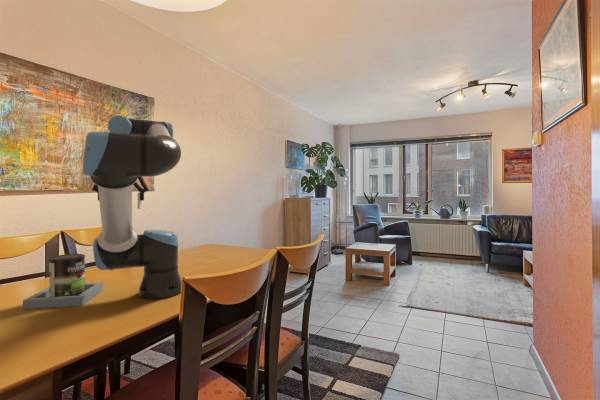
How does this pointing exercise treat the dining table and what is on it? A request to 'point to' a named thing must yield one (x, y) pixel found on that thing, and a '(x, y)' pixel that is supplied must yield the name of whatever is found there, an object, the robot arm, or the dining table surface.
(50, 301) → the grey square tray
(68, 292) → the coffee can
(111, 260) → the robot arm
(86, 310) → the dining table surface
